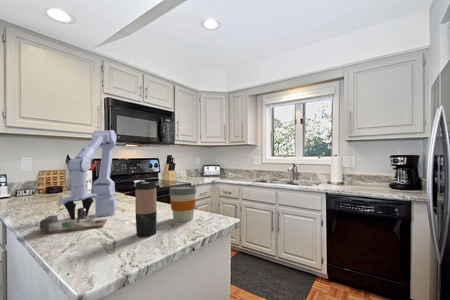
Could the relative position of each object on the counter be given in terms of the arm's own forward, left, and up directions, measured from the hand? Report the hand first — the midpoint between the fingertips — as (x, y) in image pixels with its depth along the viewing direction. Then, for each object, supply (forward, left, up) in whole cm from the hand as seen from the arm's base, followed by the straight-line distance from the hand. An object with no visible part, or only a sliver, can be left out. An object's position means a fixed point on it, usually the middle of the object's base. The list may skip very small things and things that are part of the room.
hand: (79, 217), depth 93 cm
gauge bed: (+1, 0, -4) cm, 4 cm away
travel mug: (-28, +20, -4) cm, 35 cm away
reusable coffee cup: (-44, +6, -4) cm, 44 cm away
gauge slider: (-1, +1, -2) cm, 3 cm away
